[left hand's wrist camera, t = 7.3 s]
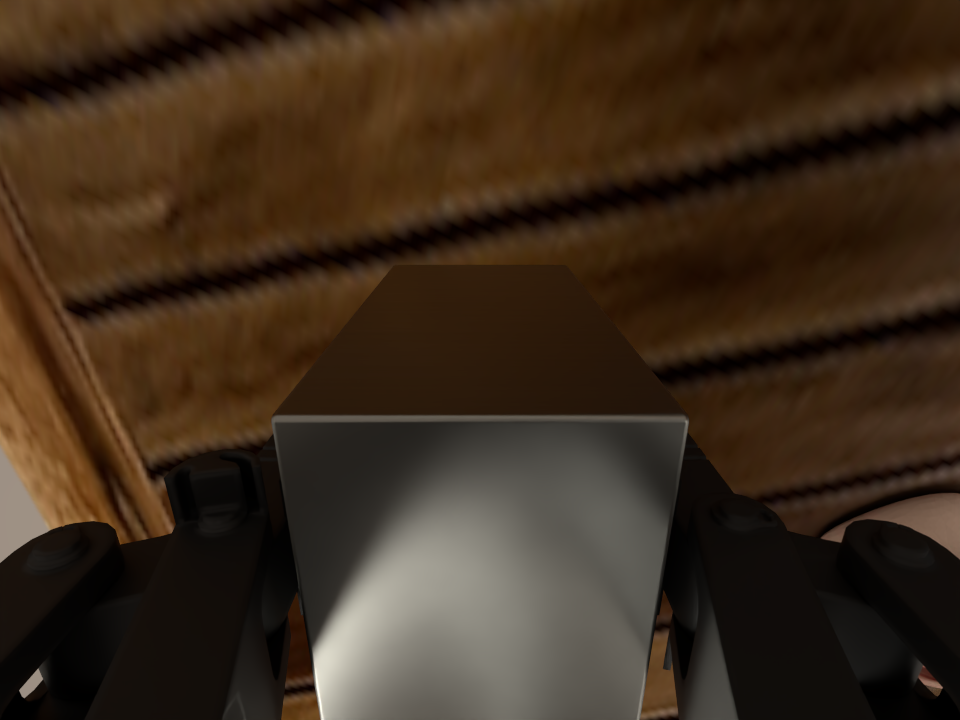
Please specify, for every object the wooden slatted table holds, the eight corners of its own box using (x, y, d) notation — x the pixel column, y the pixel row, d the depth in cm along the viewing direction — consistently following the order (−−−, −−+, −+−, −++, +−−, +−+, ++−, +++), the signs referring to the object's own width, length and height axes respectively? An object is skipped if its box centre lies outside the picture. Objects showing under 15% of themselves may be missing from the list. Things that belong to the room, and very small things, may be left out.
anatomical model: (812, 624, 25) (1053, 489, 22) (769, 564, 29) (971, 442, 26) (932, 757, 28) (1152, 656, 26) (879, 688, 32) (1067, 593, 29)
